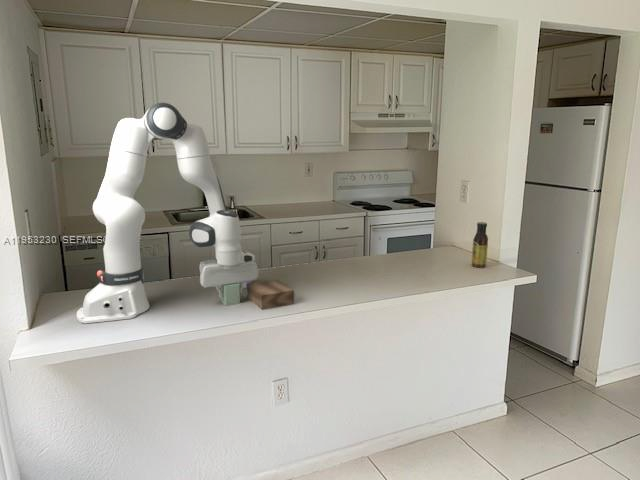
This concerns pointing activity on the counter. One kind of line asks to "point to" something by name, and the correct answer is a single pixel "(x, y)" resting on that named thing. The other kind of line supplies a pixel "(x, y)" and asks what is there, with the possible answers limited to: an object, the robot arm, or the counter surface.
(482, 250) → the sauce bottle
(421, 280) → the counter surface
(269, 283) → the walnut block
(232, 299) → the sage block
